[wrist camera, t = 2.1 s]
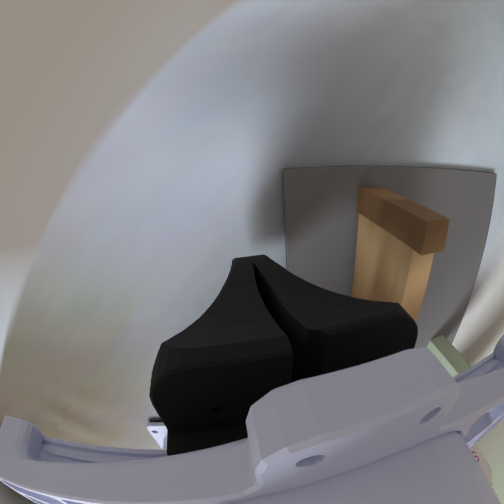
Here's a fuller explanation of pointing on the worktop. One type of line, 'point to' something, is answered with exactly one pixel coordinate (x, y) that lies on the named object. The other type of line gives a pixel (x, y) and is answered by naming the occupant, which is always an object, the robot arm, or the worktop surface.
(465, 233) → the mat
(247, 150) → the worktop surface
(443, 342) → the post
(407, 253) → the gate
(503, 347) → the robot arm
